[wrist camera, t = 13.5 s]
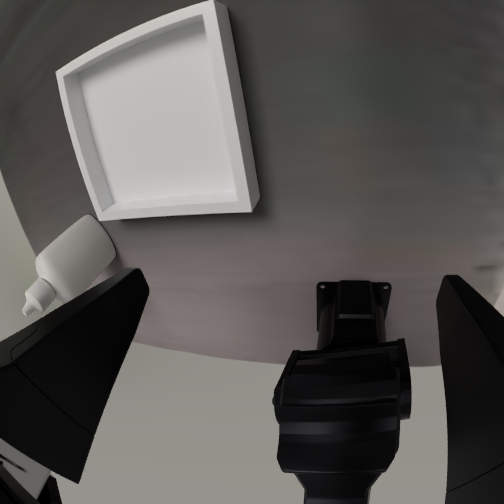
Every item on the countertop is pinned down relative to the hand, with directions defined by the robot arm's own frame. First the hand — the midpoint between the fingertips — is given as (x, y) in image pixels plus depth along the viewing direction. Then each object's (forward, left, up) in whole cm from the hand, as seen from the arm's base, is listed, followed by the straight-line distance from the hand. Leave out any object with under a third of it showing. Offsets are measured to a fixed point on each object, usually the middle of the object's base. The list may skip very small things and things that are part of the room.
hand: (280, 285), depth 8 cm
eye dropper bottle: (-6, +22, -13) cm, 26 cm away
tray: (+4, +11, -13) cm, 17 cm away
